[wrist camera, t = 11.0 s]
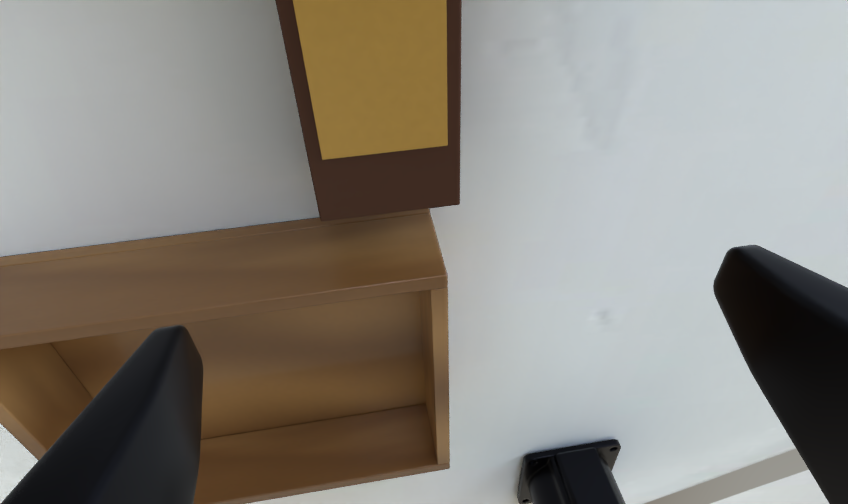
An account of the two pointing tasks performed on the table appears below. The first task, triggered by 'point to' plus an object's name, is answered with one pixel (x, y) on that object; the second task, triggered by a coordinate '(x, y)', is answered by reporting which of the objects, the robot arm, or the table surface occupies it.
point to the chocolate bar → (377, 101)
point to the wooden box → (250, 346)
